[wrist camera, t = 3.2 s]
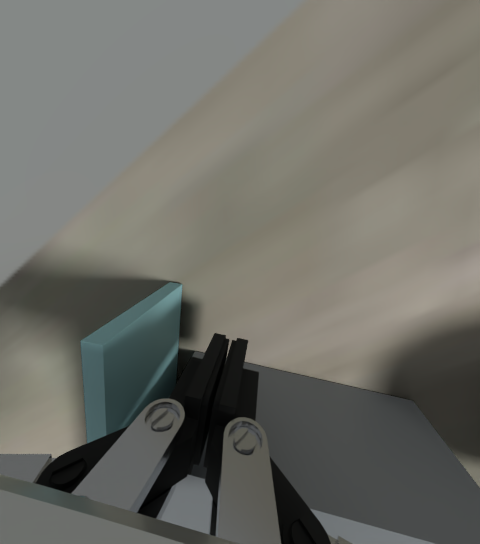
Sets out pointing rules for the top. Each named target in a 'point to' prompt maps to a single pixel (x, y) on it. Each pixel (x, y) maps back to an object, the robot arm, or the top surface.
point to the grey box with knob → (352, 465)
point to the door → (131, 362)
